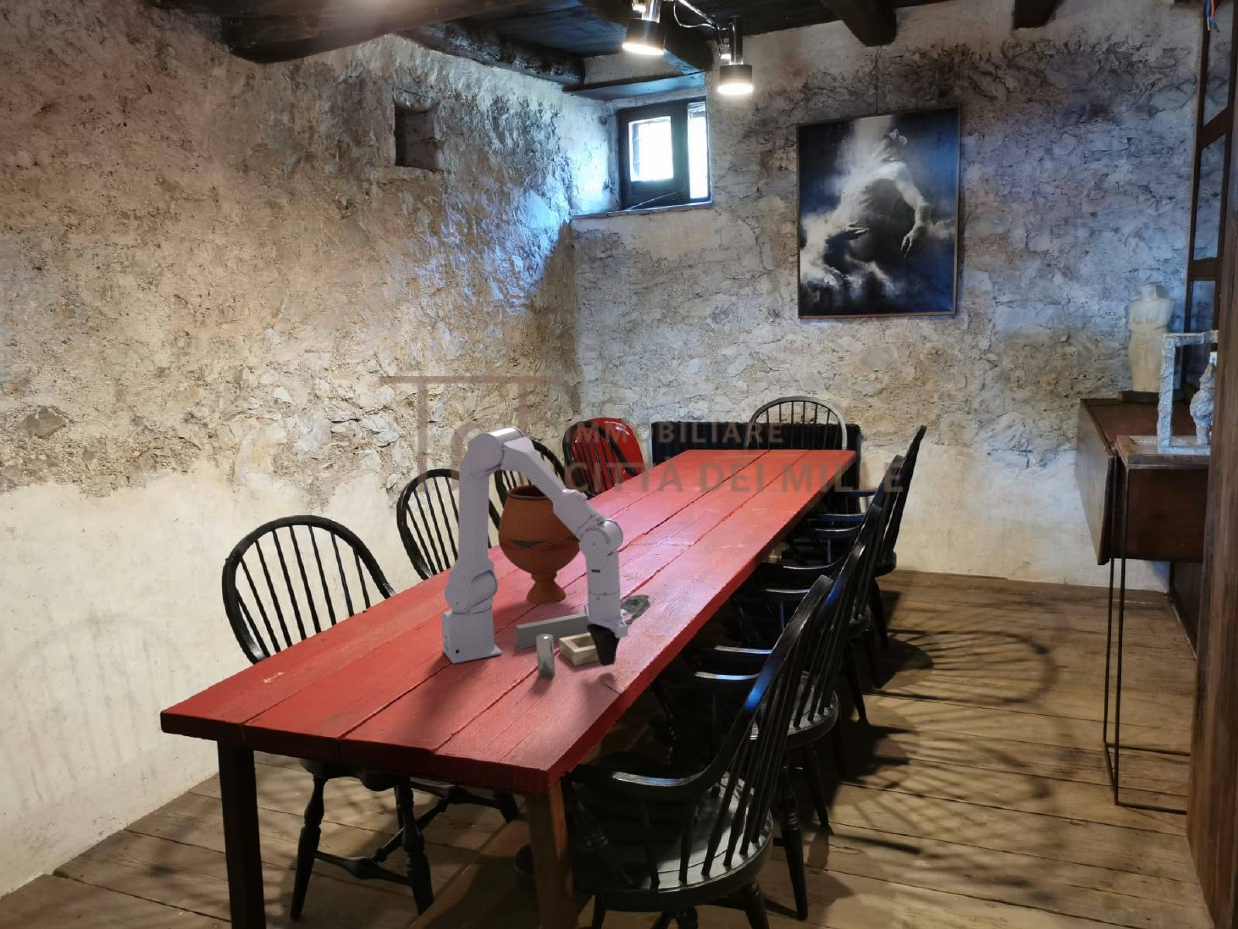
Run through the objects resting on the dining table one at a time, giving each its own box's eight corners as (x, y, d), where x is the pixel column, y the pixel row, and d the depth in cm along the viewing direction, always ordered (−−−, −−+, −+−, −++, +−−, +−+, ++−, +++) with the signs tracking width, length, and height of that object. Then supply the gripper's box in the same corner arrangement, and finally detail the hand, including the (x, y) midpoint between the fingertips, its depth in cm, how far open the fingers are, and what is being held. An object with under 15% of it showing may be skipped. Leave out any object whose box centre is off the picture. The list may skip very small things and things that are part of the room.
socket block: (575, 665, 166) (575, 652, 165) (559, 651, 173) (559, 638, 172) (616, 656, 169) (615, 644, 169) (598, 643, 176) (598, 630, 176)
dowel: (541, 679, 160) (539, 641, 159) (535, 673, 163) (533, 636, 162) (557, 675, 162) (555, 638, 160) (551, 670, 164) (549, 633, 163)
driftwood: (632, 597, 205) (632, 588, 205) (660, 600, 202) (660, 591, 202) (595, 630, 186) (595, 620, 186) (626, 633, 184) (626, 623, 183)
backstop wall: (520, 648, 175) (519, 628, 175) (517, 645, 177) (515, 625, 176) (615, 629, 184) (614, 610, 183) (611, 626, 185) (610, 607, 185)
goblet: (486, 607, 200) (479, 496, 196) (527, 582, 218) (521, 479, 213) (566, 615, 193) (560, 499, 189) (601, 588, 211) (596, 481, 206)
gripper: (642, 597, 155) (645, 673, 158) (607, 576, 168) (610, 646, 171) (604, 604, 153) (608, 681, 155) (572, 582, 166) (575, 653, 168)
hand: (607, 663), depth 163 cm, fingers closed
